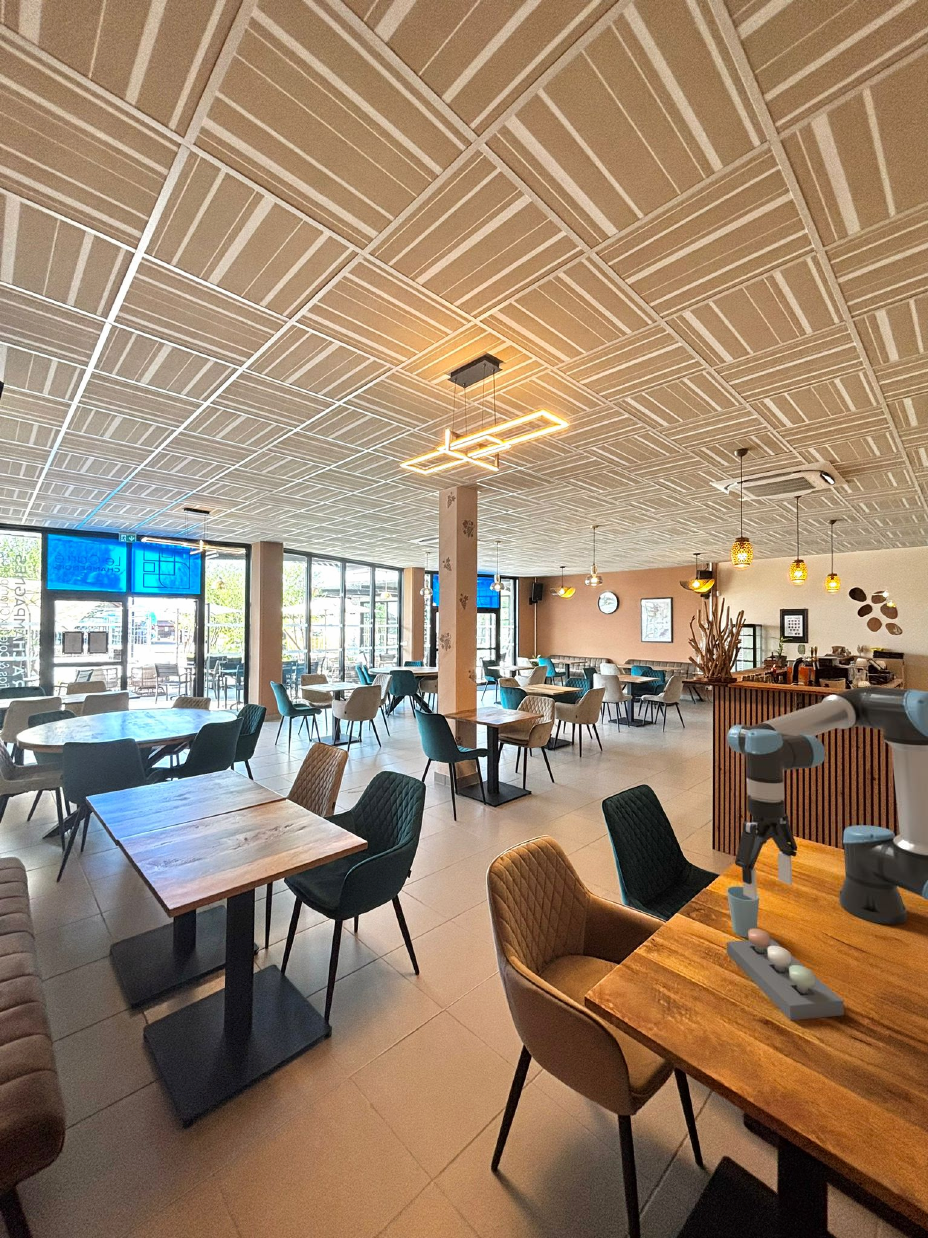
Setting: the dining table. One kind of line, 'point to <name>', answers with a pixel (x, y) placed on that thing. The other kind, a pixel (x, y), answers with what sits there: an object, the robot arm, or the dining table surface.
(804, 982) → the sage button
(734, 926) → the cup
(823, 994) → the gray rectangular slab
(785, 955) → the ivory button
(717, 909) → the dining table surface
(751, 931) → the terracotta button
